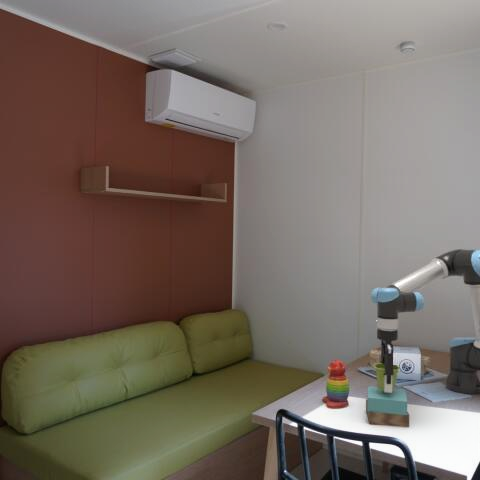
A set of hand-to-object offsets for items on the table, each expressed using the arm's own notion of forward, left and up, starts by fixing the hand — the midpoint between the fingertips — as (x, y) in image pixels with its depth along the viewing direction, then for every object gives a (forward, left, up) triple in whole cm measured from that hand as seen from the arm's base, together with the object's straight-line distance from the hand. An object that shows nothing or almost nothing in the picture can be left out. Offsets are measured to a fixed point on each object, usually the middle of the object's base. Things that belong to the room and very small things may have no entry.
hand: (386, 388), depth 188 cm
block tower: (-16, -69, -12) cm, 72 cm away
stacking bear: (+18, -12, -12) cm, 25 cm away
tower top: (0, +1, -7) cm, 7 cm away
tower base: (0, +1, -12) cm, 12 cm away
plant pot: (0, 0, 0) cm, 0 cm away
